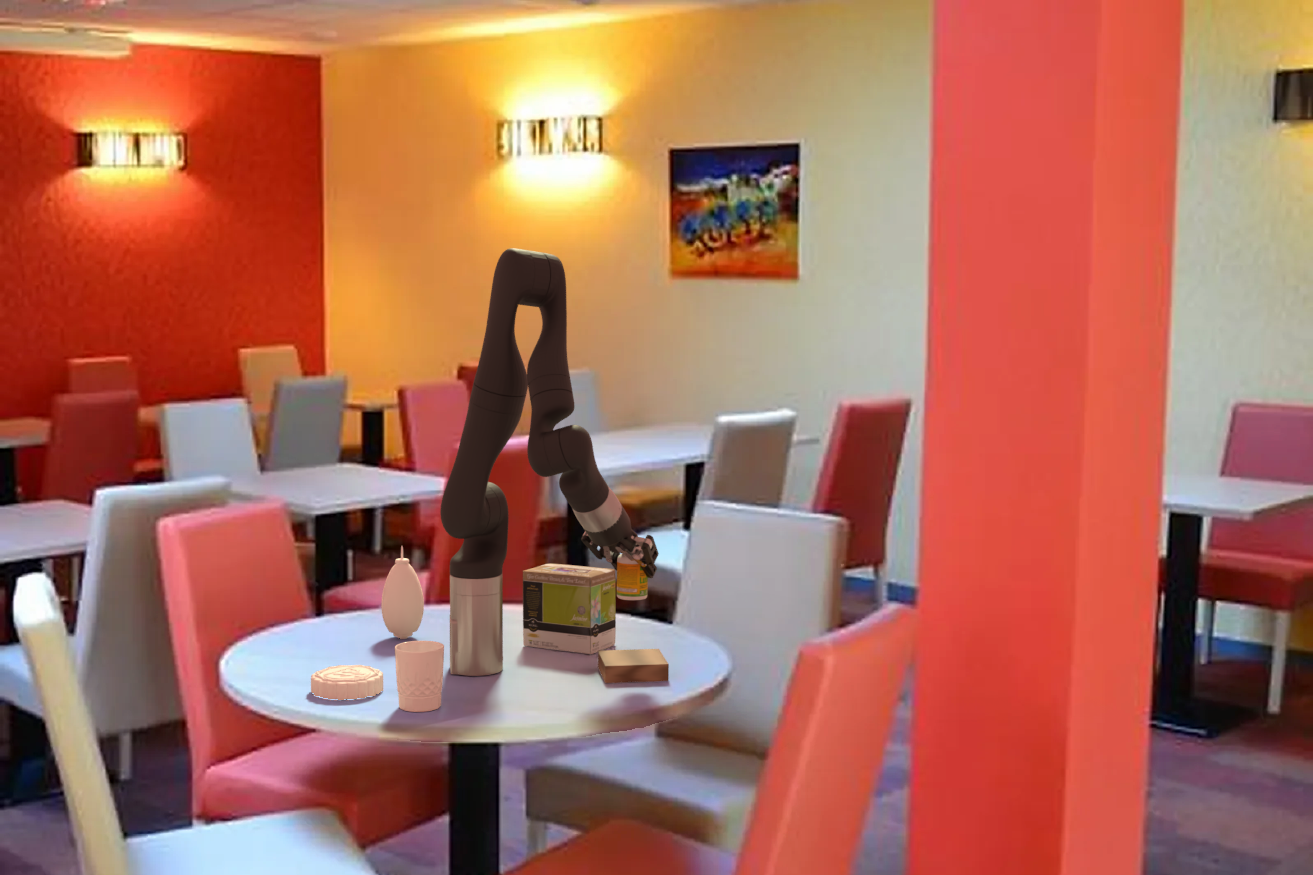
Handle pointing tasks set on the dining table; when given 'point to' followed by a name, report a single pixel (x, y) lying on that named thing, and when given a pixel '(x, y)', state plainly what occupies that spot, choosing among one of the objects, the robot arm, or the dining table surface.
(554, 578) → the tea box
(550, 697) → the dining table surface
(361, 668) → the mooncake
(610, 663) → the walnut plinth
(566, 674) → the dining table surface
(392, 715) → the dining table surface
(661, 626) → the dining table surface
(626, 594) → the supplement bottle
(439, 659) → the peach drinking glass
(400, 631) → the air blower bulb
